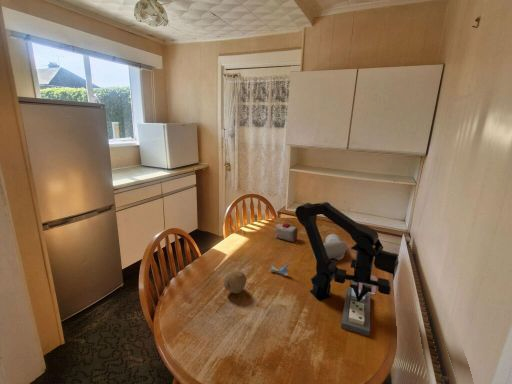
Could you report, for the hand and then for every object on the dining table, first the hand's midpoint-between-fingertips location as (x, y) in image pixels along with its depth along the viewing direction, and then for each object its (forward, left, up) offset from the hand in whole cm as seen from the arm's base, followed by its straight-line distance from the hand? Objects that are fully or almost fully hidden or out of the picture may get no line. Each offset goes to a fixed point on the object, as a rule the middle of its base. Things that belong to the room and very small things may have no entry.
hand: (358, 300), depth 96 cm
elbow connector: (+17, +40, -5) cm, 44 cm away
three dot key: (0, 0, -5) cm, 5 cm away
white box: (+5, +66, -5) cm, 66 cm away
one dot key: (+5, +5, -4) cm, 8 cm away
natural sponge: (-40, +26, -5) cm, 48 cm away
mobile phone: (+18, +13, -5) cm, 23 cm away
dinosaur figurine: (-16, +32, -5) cm, 36 cm away
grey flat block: (0, 0, -5) cm, 5 cm away
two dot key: (-5, -4, -4) cm, 7 cm away
